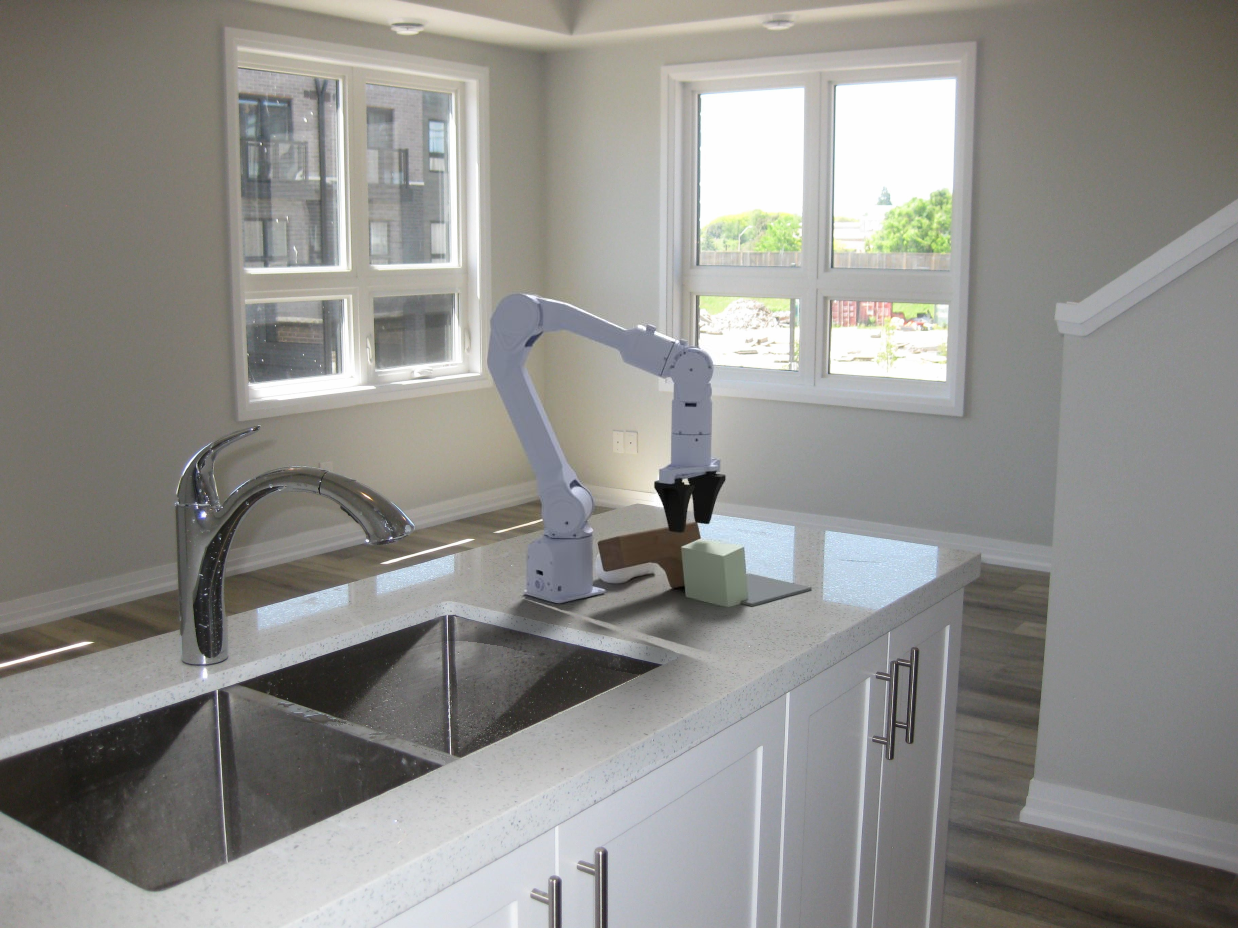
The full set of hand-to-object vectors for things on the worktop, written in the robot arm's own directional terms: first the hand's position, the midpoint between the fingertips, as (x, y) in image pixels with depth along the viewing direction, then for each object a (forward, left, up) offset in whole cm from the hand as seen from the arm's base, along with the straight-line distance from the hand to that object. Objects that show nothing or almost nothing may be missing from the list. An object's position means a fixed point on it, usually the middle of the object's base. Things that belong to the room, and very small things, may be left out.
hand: (689, 527), depth 165 cm
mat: (+10, -3, -10) cm, 15 cm away
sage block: (+3, -3, -10) cm, 11 cm away
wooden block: (+7, +5, -6) cm, 10 cm away
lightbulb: (+7, +14, -9) cm, 18 cm away
